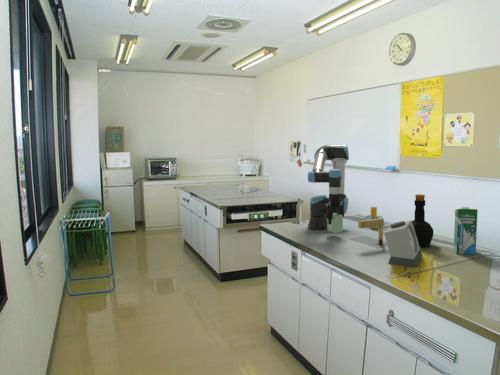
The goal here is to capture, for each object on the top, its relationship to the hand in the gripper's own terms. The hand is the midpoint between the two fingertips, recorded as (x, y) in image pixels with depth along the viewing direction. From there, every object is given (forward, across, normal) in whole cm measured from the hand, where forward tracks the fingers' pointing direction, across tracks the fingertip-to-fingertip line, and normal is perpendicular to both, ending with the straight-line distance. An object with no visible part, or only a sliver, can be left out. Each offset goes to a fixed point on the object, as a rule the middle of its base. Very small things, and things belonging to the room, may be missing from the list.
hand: (334, 228), depth 245 cm
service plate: (+6, +11, -21) cm, 24 cm away
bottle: (+6, +30, -40) cm, 50 cm away
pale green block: (+2, 0, 0) cm, 2 cm away
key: (+5, +4, -28) cm, 29 cm away
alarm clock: (+7, +1, -54) cm, 54 cm away
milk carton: (+6, +38, -63) cm, 74 cm away
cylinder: (+6, +40, +6) cm, 41 cm away
